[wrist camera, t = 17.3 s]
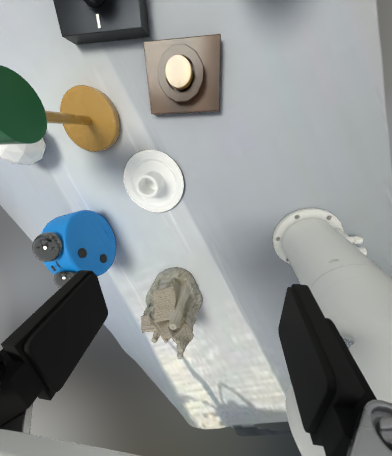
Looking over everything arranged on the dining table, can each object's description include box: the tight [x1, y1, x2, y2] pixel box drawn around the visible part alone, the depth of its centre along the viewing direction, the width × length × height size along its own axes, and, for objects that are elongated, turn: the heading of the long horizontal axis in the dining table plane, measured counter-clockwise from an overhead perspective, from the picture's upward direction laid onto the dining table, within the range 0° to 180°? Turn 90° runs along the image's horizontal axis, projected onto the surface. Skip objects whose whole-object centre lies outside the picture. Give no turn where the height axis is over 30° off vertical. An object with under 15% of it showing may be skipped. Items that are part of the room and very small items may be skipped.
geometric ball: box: [0, 138, 46, 165], centre depth 35 cm, size 8×8×8 cm
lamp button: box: [165, 55, 193, 90], centre depth 27 cm, size 4×4×2 cm
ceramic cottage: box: [141, 268, 202, 359], centre depth 45 cm, size 16×16×15 cm
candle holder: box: [124, 150, 184, 212], centre depth 37 cm, size 12×12×4 cm
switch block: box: [144, 34, 221, 115], centre depth 29 cm, size 11×9×4 cm
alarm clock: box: [32, 210, 116, 288], centre depth 39 cm, size 13×6×15 cm, turn 16°
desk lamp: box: [0, 65, 120, 152], centre depth 26 cm, size 10×10×22 cm
